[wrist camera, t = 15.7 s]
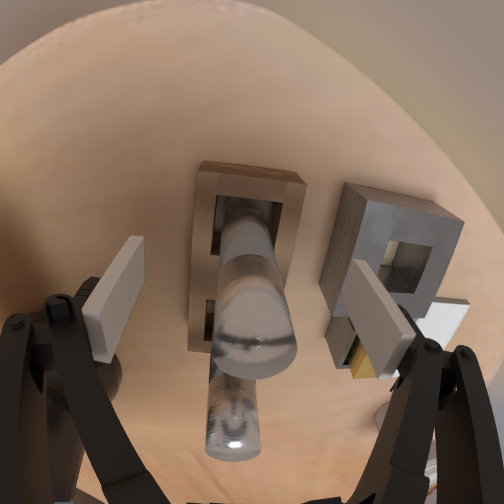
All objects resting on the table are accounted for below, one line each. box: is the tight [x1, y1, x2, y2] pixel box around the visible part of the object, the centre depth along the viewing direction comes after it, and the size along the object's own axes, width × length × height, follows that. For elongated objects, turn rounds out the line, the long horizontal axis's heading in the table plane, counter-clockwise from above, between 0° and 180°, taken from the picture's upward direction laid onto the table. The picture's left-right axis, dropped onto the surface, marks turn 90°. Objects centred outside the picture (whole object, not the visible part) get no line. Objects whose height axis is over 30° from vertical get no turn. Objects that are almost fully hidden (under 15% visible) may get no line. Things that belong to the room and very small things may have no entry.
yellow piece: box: [346, 335, 377, 379], centre depth 28 cm, size 3×3×6 cm
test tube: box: [205, 300, 261, 462], centre depth 22 cm, size 3×3×16 cm
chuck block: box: [319, 183, 464, 369], centre depth 27 cm, size 10×16×5 cm, turn 172°
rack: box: [188, 161, 307, 353], centre depth 26 cm, size 16×7×4 cm, turn 172°
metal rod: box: [212, 196, 297, 380], centre depth 18 cm, size 3×3×16 cm
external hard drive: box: [392, 297, 470, 377], centre depth 34 cm, size 2×8×12 cm
